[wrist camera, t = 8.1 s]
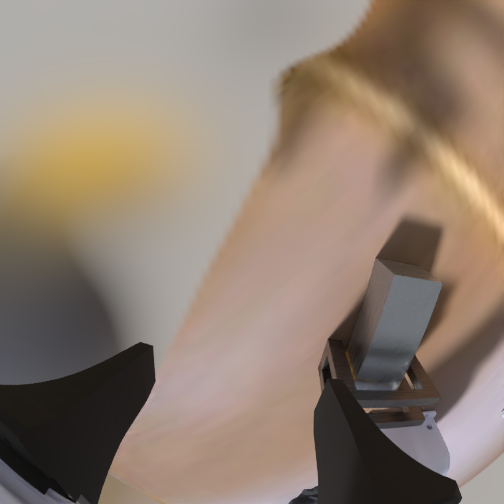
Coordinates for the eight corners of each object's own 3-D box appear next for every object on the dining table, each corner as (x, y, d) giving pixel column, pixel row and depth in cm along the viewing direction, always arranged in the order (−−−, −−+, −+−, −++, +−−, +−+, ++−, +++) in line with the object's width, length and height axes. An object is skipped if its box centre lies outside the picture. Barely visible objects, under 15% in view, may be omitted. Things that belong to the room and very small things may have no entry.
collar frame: (409, 346, 20) (440, 397, 13) (396, 372, 21) (421, 425, 14) (327, 339, 21) (341, 399, 14) (318, 367, 21) (326, 429, 15)
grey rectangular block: (374, 256, 19) (394, 274, 15) (418, 265, 18) (443, 282, 15) (335, 375, 22) (342, 406, 18) (375, 377, 21) (386, 406, 18)
